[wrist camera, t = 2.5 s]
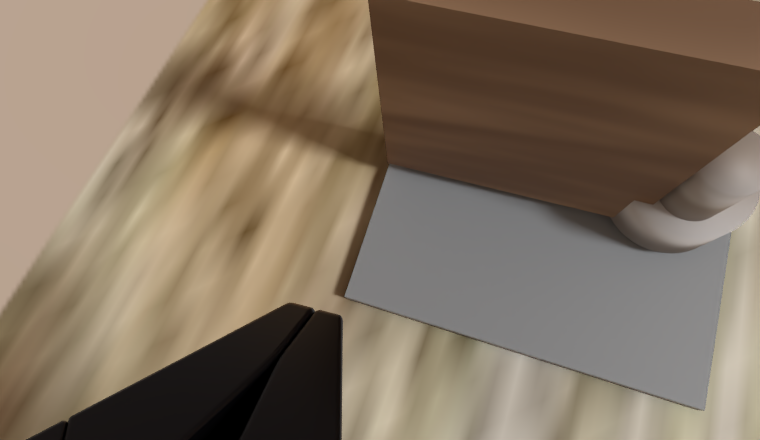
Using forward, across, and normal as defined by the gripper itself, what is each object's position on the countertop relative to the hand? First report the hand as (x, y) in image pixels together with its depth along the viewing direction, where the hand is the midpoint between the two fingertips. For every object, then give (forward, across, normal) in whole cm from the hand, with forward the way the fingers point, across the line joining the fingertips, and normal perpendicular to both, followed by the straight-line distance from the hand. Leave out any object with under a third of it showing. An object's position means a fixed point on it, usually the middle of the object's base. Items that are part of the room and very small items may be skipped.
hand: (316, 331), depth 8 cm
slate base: (+14, -5, +1) cm, 14 cm away
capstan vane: (+13, -4, +1) cm, 13 cm away
